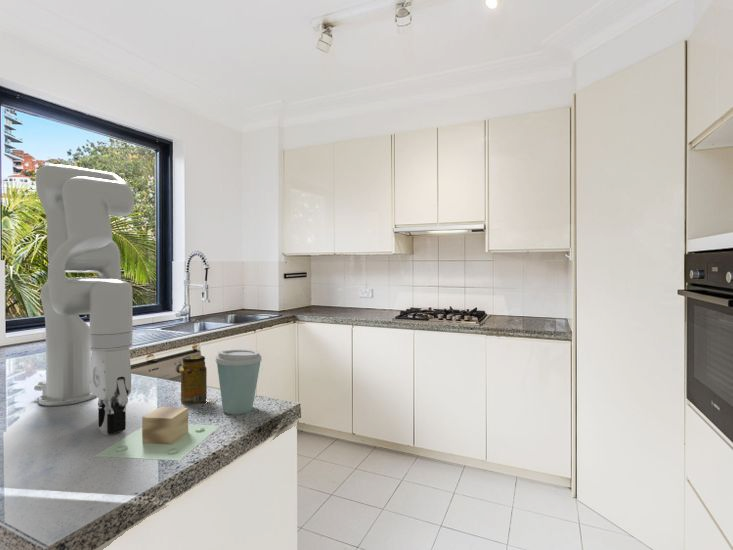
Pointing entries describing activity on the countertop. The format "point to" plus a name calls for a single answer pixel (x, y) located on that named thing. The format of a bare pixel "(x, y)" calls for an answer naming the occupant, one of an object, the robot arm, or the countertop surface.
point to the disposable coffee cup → (238, 379)
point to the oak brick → (164, 425)
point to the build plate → (159, 445)
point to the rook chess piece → (104, 424)
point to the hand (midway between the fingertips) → (111, 427)
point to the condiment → (194, 381)
